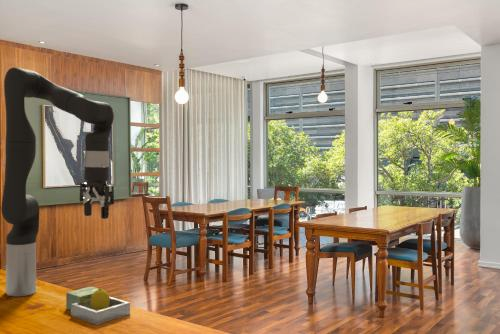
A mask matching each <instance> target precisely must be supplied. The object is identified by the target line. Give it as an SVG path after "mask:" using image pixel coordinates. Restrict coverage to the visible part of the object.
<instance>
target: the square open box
mask: <svg viewBox="0 0 500 334" xmlns="http://www.w3.org/2000/svg"><path fill="white" fill-rule="evenodd" d="M98 289H99V288H98V287H95V286H87V287H83V288H79V289H75V290H71V291H67V292H66V293H65V295H66V296H65V297H66V300H65V303H66V304H65V309H67V310H69V311H70V316H71V317H73V318H76V319H79V320H82V321H85V322H87V323H89V324H92V325H96V326H97V325H101V324H103V323H107V322H109V321H112V320H116V319H119V318H121V317H125V316H129V315H130V314H131V302H130V301H126V300H122V299H120V298H116V297H112V296H109V298H110V304H109V308H106V309H102V310H99V311H96V310H93V309H92V308H91V304H90V301H91V296H92V294H93V293H94V292H95V291H96V290H98Z"/></svg>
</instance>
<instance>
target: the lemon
mask: <svg viewBox="0 0 500 334" xmlns="http://www.w3.org/2000/svg"><path fill="white" fill-rule="evenodd" d="M109 297H110V295H109V293H108V292H107V290H105V289H103V288H101V287H100V288H98V290H96V291H95V292H94V293H93V294H92V296H91V301H90V304H91V308H92V309H93V310H96V311H99V310H102V309H106V308H109V304H110V298H109Z"/></svg>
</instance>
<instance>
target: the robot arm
mask: <svg viewBox="0 0 500 334" xmlns="http://www.w3.org/2000/svg"><path fill="white" fill-rule="evenodd" d="M3 82H4V83H3V90H4V102H5V116H6V117H5V120H6V122H5V127H6V128H5V129H6V131H5V149H4V150H5V160H4V161H5V164H4V167H5V168H4V184H3V185H4V186H3V192H2V199H1V216H2V218H3V220H5V221H6V222H7V223H8V224H10V225H12V226H11V230H10V231H9V232H8V234H6V238H5V239H6V240H5V244H6V245H5V246H6V248H5V249H6V251H5V254H6V257H5V258H6V264H5V293H6V295H7V296H8V297H25V296H31V295H34V294H35V293H36V292H37V236H38V234H39V229H40V206H39V204H40V203H39V202H38V200H37V199H36V197H35V196H33V195H32V194H31V195H30V194H27V181H28V178H29V174H30V172H31V170H32V168H33V165H34V162H35V159H36V154H37V150H36V149H37V143H36V142H37V138H36V137H37V136H36V133H35V131H34V129H33V126H32V125H31V123H30V120H29V119H28V115H27V113H26V108H25V105H26V103H25V98H28V99H29V98H35V99H41V100H45V101H46V102H47V101H48V102H49V103H51V104H52V105H53V106H54V107H56V108H57V109H59V110H60V111H63V112H66V113H68V114H70V115H73V116H74V117H76V118H77V119H79V120H80V121H81V122H85V123H87V124H93V125H94V126H93V128H92V131H89V132H87V133H86V134H85V137H84V141H85V142H84V150H85V151H84V156H83V180H84V181H85V182H80V185H79V201H80V202H81V203H82V204H83V206H84V207H83V209H84V211H83V213H84V214H83V215H84V216H85V217H90V216H92V209H93V207H92V203H93V201H94V199H97V201H98V202H100V206H101V208H100V218H101V219H102V220H106V219H108V218H109V216H110V206H112V205H114V204H115V194H114V193H115V192H114V188H115V187H114V185H113V184H109V185H108V184H107V181H109V179H110V155H109V143H110V142H109V138H110V134H111V131H112V126H113V123H114V117H115V114H114V111H113V107H112V105H110V104H109V103H107V102H103V101H96V100H92V99H88V98H87V97H86V96H85V95H83V94H81V93H79V92H77V91H74V90H71V89H69V88H67V87H63V86H60V85H58V84H56V83H54V82H52V81H51V80H49V79H47V78H46V77H45V76H43V75H41V74H40V73H38V72H36V71H35V70H31V69H28V68H21V67H14V66H13V67H10V68H9V69H7V71H6V73H5V76H4V81H3Z"/></svg>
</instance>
